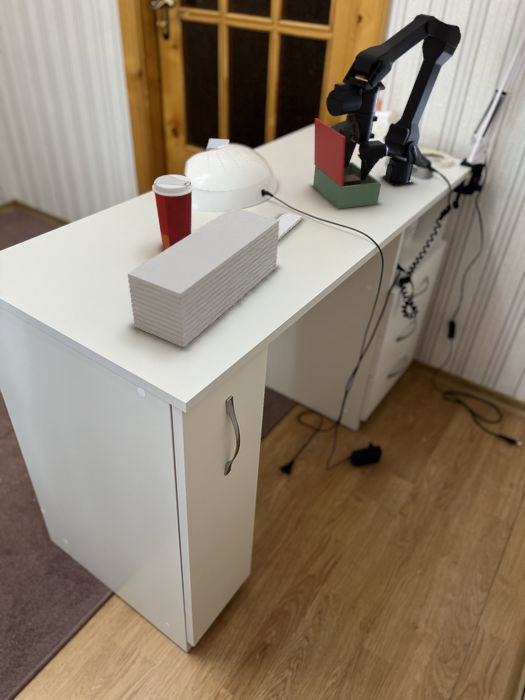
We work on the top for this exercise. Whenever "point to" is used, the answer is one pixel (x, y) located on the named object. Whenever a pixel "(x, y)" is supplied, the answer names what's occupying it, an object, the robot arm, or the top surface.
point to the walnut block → (351, 180)
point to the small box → (216, 143)
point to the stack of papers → (203, 275)
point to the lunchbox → (348, 189)
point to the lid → (329, 151)
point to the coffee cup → (173, 207)
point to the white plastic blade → (287, 223)
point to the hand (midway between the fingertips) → (353, 173)
